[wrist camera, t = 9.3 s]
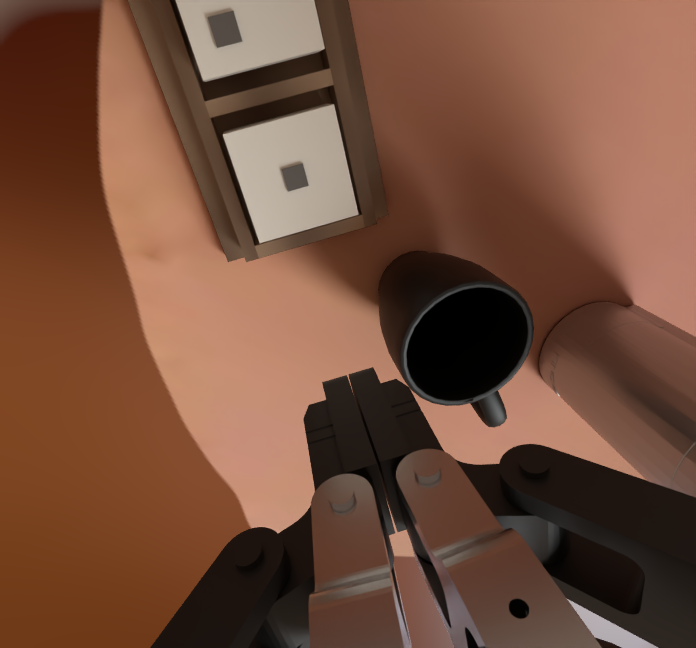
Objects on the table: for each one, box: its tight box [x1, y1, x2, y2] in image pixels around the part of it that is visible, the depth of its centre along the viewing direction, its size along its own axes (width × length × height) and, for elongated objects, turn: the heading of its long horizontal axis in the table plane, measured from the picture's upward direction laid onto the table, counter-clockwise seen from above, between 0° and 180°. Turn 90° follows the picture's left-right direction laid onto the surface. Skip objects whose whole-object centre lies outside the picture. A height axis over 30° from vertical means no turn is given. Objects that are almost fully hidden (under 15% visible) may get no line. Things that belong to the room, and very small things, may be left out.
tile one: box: [223, 103, 359, 243], centre depth 26 cm, size 6×6×3 cm
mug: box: [378, 251, 534, 427], centre depth 31 cm, size 8×12×10 cm
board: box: [128, 0, 389, 262], centre depth 23 cm, size 11×26×3 cm, turn 13°
